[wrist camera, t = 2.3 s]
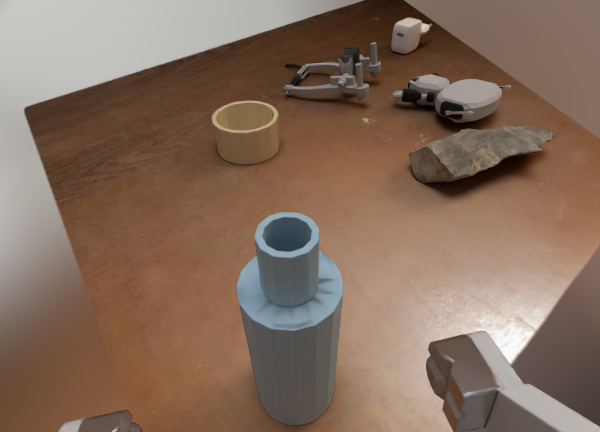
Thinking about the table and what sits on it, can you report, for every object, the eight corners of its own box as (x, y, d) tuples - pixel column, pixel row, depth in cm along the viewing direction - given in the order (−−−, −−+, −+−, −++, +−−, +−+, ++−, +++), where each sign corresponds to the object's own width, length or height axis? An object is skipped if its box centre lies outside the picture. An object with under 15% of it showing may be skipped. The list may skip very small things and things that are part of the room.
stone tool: (586, 120, 49) (466, 158, 42) (574, 162, 52) (459, 204, 45) (503, 100, 58) (394, 129, 51) (496, 137, 61) (392, 169, 54)
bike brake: (385, 74, 72) (288, 76, 80) (384, 36, 68) (282, 41, 76) (366, 108, 63) (259, 106, 71) (363, 66, 59) (249, 69, 67)
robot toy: (386, 111, 66) (470, 138, 57) (387, 85, 63) (477, 109, 54) (426, 89, 72) (508, 110, 63) (429, 63, 69) (516, 82, 60)
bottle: (250, 420, 29) (212, 275, 18) (265, 347, 33) (241, 192, 22) (331, 430, 29) (345, 286, 17) (335, 353, 33) (348, 198, 21)
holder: (210, 163, 54) (203, 131, 51) (226, 129, 61) (221, 99, 57) (274, 166, 53) (272, 134, 50) (283, 132, 60) (282, 101, 56)
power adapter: (413, 37, 90) (417, 9, 86) (432, 42, 88) (438, 13, 84) (387, 51, 84) (390, 22, 80) (407, 56, 82) (412, 26, 78)
